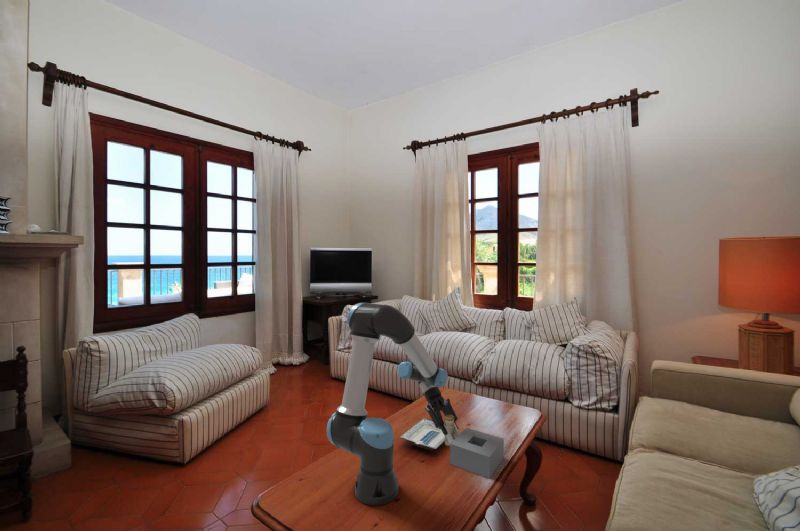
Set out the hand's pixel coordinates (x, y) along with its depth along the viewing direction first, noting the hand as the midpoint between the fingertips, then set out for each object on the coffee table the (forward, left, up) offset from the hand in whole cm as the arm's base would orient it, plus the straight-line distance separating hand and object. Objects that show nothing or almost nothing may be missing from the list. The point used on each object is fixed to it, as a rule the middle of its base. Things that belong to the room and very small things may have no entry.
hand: (455, 440), depth 149 cm
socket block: (-4, -11, -3) cm, 13 cm away
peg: (+1, +4, -3) cm, 5 cm away
